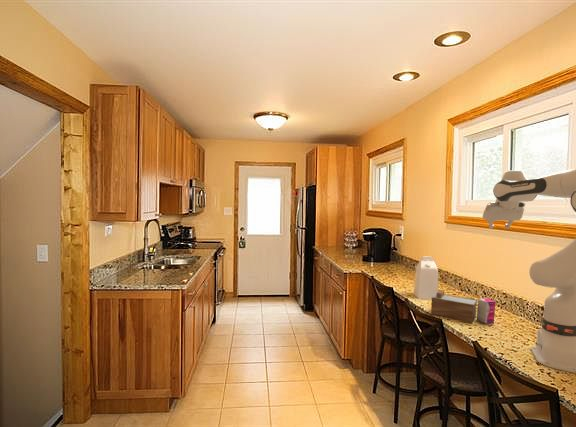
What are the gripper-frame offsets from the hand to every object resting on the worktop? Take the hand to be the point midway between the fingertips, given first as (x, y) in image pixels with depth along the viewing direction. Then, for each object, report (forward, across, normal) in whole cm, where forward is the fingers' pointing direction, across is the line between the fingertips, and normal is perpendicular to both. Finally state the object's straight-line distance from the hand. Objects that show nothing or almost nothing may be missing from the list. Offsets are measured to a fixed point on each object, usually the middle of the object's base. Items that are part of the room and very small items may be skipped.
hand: (499, 228), depth 179 cm
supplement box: (+47, -6, -13) cm, 49 cm away
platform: (+54, +1, +8) cm, 54 cm away
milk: (+60, -10, +32) cm, 69 cm away
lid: (+41, -16, -1) cm, 44 cm away
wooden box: (+49, -17, -3) cm, 52 cm away
